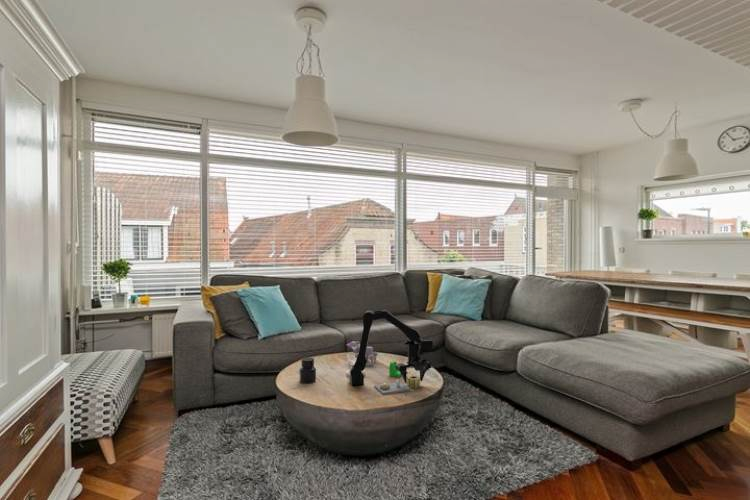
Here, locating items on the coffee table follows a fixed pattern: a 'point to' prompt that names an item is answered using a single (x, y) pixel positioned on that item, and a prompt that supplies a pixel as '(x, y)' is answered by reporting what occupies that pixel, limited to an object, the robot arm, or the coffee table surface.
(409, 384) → the gear
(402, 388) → the carrier board
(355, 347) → the toy sheep
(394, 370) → the mechanical part
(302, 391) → the coffee table surface
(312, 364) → the ink bottle
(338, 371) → the coffee table surface
